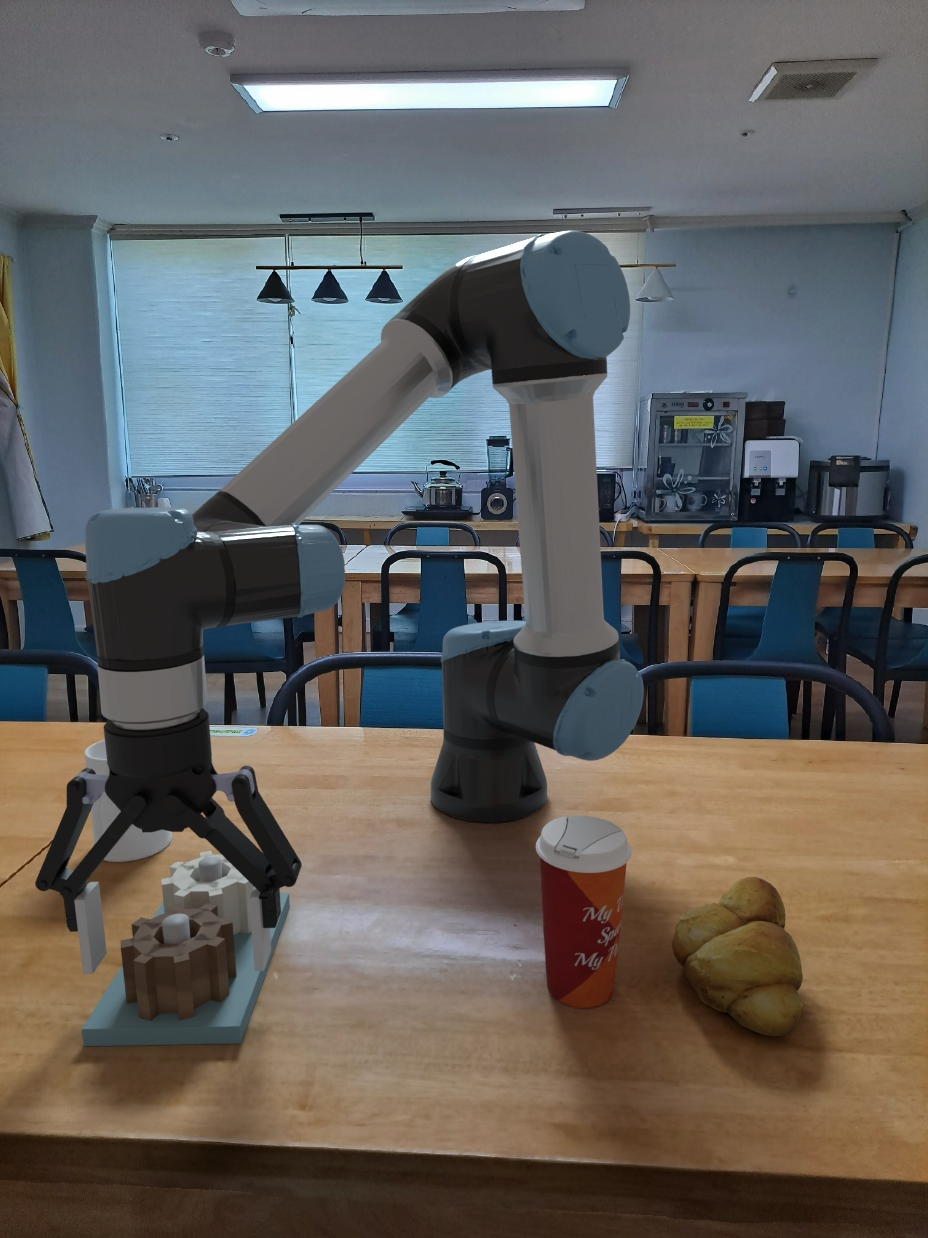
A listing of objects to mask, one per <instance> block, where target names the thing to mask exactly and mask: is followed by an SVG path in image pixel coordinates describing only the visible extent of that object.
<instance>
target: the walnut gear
mask: <svg viewBox="0 0 928 1238" xmlns="http://www.w3.org/2000/svg"><path fill="white" fill-rule="evenodd" d="M174 914H185V915H187V916H188V918H189V929H190V939H189V940H187V941H184V942H182V943H180V944H164V937H163V926H162V922H163V920H164V919H165V918H167V917H168V916H170V915H174ZM153 917H154V916H153ZM153 917H151V918H146V917H141V916H140V918H138V919H136V921H134V922H133V923H131V931H132V933H131V934H132V937H130V938H127V939H122V940H120V954H121V965H123V974H124V983H125V993H126V1002H127V1004H131V1003H135V1002H138V1011H139V1018H141V1019H144V1020H148V1021H151V1020H153V1019H154V1018H155V1017H156V1016H157V1015H158V1014H179V1020H180V1021H181V1020H185V1019H188V1018H192V1017H194V1009H196V1008H197V1007H199V1006H201V1005H203V1004H205V1003H207V1002H209V1001H211V1000H213V1001H216V1002H220V1003H221V1002H222V1001H223V1000H224V999H225V998H226V997H227V996H228V995H229V982H228V979H229V978H233V977H237V974H236V961H235V948H234V934H233V922H232V918H231V916H227V917H223V918H219V917H218V910H217V905H213V904H209V903H206V904H205V905H204V906H202V907H201V908H200V909H181V903H180V904H176V905H171V906H167V912H166V913H164V914H161V915H159V916H157V917H154V918H153Z"/></svg>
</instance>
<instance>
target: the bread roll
mask: <svg viewBox="0 0 928 1238" xmlns="http://www.w3.org/2000/svg"><path fill="white" fill-rule="evenodd" d="M785 927H786V908H785V905H784V902H783V899H782V896H781V895H780V893H779V891H778V890H777V888H775V886H773V885H772V884H771V883H770V882H769V881H767V880H765V879H763V878H760V877H757V876H748V877H745V878H740V879H739V880H737V881H736V882H735V883H733V884H732V885H731V887H730V889H728V891H727V892H726V893H724V894H723V895H722V896H721V897H720V900H719V902H718V904H717V903H715V902H714V903H705V904H704V905H701V906H697V907H694V908H691V909H690V910H688V911H686V912H685V913H684V914H683V915H682V917H681V918H679V921H678V922H677V923H676V924H675V927H674V928H675V930H674V933H673V938H672V942H671V948H672V950H673V951H672V952H673V957H674V958H675V959H676V962H677V963H679V964H680V966H681V967H683V969H684V973H685V976H686V978H687V980H688V982H689V983H690V986H691V987H692V988H693V990H694V991H695V992H696V995H697V997H698V998H699V999H700V1000H701V1002H702V1003H703V1004H706V1005H707V1006H709V1007H710V1008H713V1009H715V1010H717V1011H718V1012H722V1013H727V1014H729V1015H730V1017H732V1019H734V1020H735V1021H736V1022H737V1023H738V1024H739V1025H740V1026H741V1027H742V1028H743V1027H744V1028H745V1029H748V1030H750V1031H752V1032H755V1033H757V1034H759V1035H760V1034H761V1035H764V1036H769V1037H780V1036H785V1035H786V1034H789V1033H790V1032H791V1031H792V1030H793V1029H794V1028H795V1027H796V1025H797V1024H798V1023H799V1021H800V1017H801V1015H802V1012H803V1004H802V1000H801V996H800V993H798V990H799V989H801V986H802V983H803V977H804V974H803V972H802V969H803V968H802V967H803V966H802V963H801V956H800V953H799V950H798V946H797V944H796V941H795V940H794V939H793V937H792V935H791V934H790V933H789V932H787V931H786V929H785Z"/></svg>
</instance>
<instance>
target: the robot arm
mask: <svg viewBox="0 0 928 1238" xmlns="http://www.w3.org/2000/svg"><path fill="white" fill-rule="evenodd" d="M628 287H629V286H628V284H627V281H626V277H625V274H624V271H623V269H622V268H621V266H620V263H619V262H618V260H617V258H616V257H615V255H612V254H611V253H610V250H609V248H608V247H607V246H606V244H604V243H603V242H602V241H601V240H600V239H599V238H598V237H596V236H594V235H592V234H590V233H587V232H586V231H585V232H584V231H581V230H565V231H558V232H553V233H552V232H550V233H546V234H538V235H535V236H534V237H531V238H529V239H525V240H521V241H518V242H516V243H513V244H510V245H507V246H503V247H500V248H497V249H493V250H489V251H486V252H482V253H477V254H474V255H471V256H468V257H465V258H464V259H462V260H460V261H459V262H456V263H455V264H453V265H452V266H451V267H449V268H447V269H446V270H445V271H443V272H442V273H441V274H440V275H439V276H437V277H436V278H435V279H434V280H433V281H432V282H430V283H429V284H428V285H427V286H426V287H425V288H423V290H421V291H420V292H419V293H418V294H417V295H416V296H415V297H414V298H413V299H412V300H410V301H409V302H408V303H407V304H406V305H404V307H403V308H401V310H400V311H398V312H397V313H396V314H395V315H394V316H393V317H392V318H391V319H390V320H389V321H388V322H386V323H385V325H384V326H383V327H382V329H381V332H380V342H379V343H378V344H377V345H376V346H375V347H374V348H373V349H372V350H371V351H370V352H369V353H368V354H367V355H365V357H363V358H362V359H361V360H360V361H359V362H358V363H357V364H356V365H355V366H353V367H352V368H351V369H350V370H349V371H348V372H347V373H346V374H345V375H344V376H342V377H341V378H340V379H339V380H338V381H337V382H335V384H334V385H333V386H331V387H330V389H328V390H327V391H326V392H325V393H324V394H323V395H322V396H321V397H319V399H317V400H316V401H315V402H314V403H313V404H312V405H311V406H310V407H309V408H307V410H305V411H304V412H303V413H302V414H301V415H300V416H299V417H298V418H297V419H296V420H295V421H294V422H293V423H291V424H290V425H289V426H288V427H287V428H286V429H284V431H283V432H281V434H279V435H278V436H277V437H276V438H275V439H274V440H273V441H272V442H271V443H269V445H267V446H266V447H265V448H264V449H263V450H262V451H261V452H260V453H258V454H257V455H256V456H255V457H254V459H252V460H251V461H250V462H249V463H248V464H247V465H245V467H244V468H243V469H241V470H240V471H239V472H238V473H236V475H235V476H233V478H232V479H230V480H229V481H228V482H227V483H226V484H225V485H224V486H223V487H222V488H220V489H219V491H217V492H216V493H215V494H214V495H212V496H211V497H210V498H208V499H207V500H206V501H205V502H204V503H203V504H202V505H201V506H200V507H199V508H198V509H197V510H196V511H194V512H193V513H191V512H190V511H189V510H187V509H186V508H183V507H172V506H171V507H168V506H167V507H166V506H165V507H164V506H163V507H162V506H161V507H158V506H156V507H125V508H113V509H105V510H101V511H97V512H96V513H94V514H92V515H91V516H90V517H89V518H88V519H87V522H86V524H85V528H84V529H85V530H84V531H85V532H84V533H85V534H84V537H85V538H84V539H85V541H84V542H85V544H84V545H85V562H86V563H85V565H86V567H85V568H86V571H85V576H84V577H85V581H87V587H88V594H89V601H90V602H89V603H90V608H91V609H90V610H91V618H92V624H93V625H92V626H93V631H94V638H95V639H94V641H95V646H96V647H95V648H96V660H97V674H98V675H97V676H98V685H99V686H98V687H99V697H100V699H99V700H100V701H99V702H100V709H101V715H102V716H103V717H104V718H105V719H107V721H106V722H105V723H104V724H103V735H104V740H105V746H106V756H107V764H108V767H109V771H110V772H109V776H107V775H96V773H95V771H94V770H93V769H91V768H86V767H85V768H83V769H81V771H80V772H79V773H77V774H76V775H75V776H74V777H72V778H71V780H69V781H68V782H67V784H66V807H65V810H64V813H63V815H62V817H61V818H60V819H61V820H60V822H59V824H58V827H57V829H56V832H55V834H54V837H53V839H52V841H51V844H50V846H49V848H48V850H47V853H46V856H45V858H44V861H43V863H42V865H41V867H40V869H39V873H38V875H37V877H36V879H35V883H34V884H35V887H36V889H37V890H38V891H40V892H47V891H49V890H52V891H55V892H58V893H59V894H60V896H61V897H62V898H63V903H64V913H65V919H66V921H65V923H66V927H67V928H68V929H67V930H68V931H69V932H70V933H71V932H72V933H74V932H77V933H78V942H79V951H80V958H81V967H82V974H83V975H93V974H94V973H95V971H96V970H97V969H98V967H99V965H101V963H102V961H103V960H104V958H105V957H106V955H107V953H108V952H107V951H108V950H107V943H106V934H105V927H104V926H105V924H104V917H103V916H104V915H103V908H102V899H101V897H102V896H101V889H100V882H99V881H89V882H88V883H87V881H88V879H90V877H91V876H92V874H94V872H95V871H96V870H97V868H98V867H99V866H100V865H101V863H102V862H103V861H104V858H105V857H106V856H107V855H108V853H109V852H110V851H111V850H112V848H113V847H114V846H115V845H116V843H117V842H118V841H119V840H120V838H121V837H122V836H123V835H124V834H125V832H126V831H127V830H128V829H129V827H130V826H131V825H132V824H133V825H134V826H135V827H137V828H139V829H142V832H155V831H159V830H166V831H170V832H171V833H181V832H184V830H185V829H188V828H189V830H191V831H192V833H194V834H195V835H196V836H197V837H198V838H199V839H204V840H206V841H207V842H208V843H209V844H211V846H212V847H213V848H215V850H216V851H217V852H218V853H219V855H223V856H224V857H225V858H226V859H227V860H228V861H229V862H230V863H231V864H232V865H233V866H234V867H235V868H236V869H237V870H238V871H239V872H240V873H241V874H242V875H243V876H244V877H245V878H246V879H247V880H248V881H249V882H250V883H251V884H252V885H253V886H254V888H253V890H252V892H251V895H250V897H249V900H250V915H251V929H252V943H253V958H254V971H264V969H265V967H266V964H267V961H268V958H269V955H270V953H271V939H270V928H275V927H276V925H277V922H278V919H279V917H280V914H281V903H280V893H281V891H280V889H281V888H283V887H286V888H291V887H294V886H295V885H296V883H297V880H298V878H299V875H300V872H301V869H302V863H303V862H302V860H301V859H300V857H299V856H298V855H297V852H296V851H295V850H294V848H293V846H292V844H291V843H290V841H289V840H288V838H287V836H286V834H285V833H284V831H283V830H282V828H281V826H280V824H279V823H278V822H277V819H276V817H274V815H273V813H272V811H271V810H270V809H269V807H268V805H267V803H266V802H265V800H264V798H263V797H262V795H261V794H260V791H259V789H258V783H257V778H256V773H255V769H254V768H253V767H252V766H250V765H244V766H242V767H240V769H239V770H238V771H234V772H225V773H224V772H223V773H218V772H217V770H216V769H215V766H214V764H213V758H212V757H213V756H212V755H213V753H212V741H211V730H210V729H211V727H210V716H209V712H208V711H207V710H205V708H204V707H205V705H206V704H208V698H207V697H208V696H207V695H208V694H207V693H208V692H207V678H206V666H205V646H204V638H203V637H204V636H203V635H204V630H208V629H217V628H223V627H229V626H236V625H243V624H244V625H245V624H250V623H258V622H259V623H260V622H264V621H265V622H267V621H273V620H280V619H288V618H295V617H297V618H298V619H299V618H300V619H301V618H303V617H304V616H307V615H311V614H316V613H319V612H323V611H327V610H330V609H332V608H333V607H334V606H335V605H336V604H337V603H338V602H339V600H340V598H341V596H342V594H343V591H344V587H345V584H346V575H345V574H346V573H345V572H346V571H345V570H346V569H345V566H346V565H345V564H346V563H345V557H344V552H343V550H342V548H341V545H340V544H339V541H338V539H337V538H336V536H335V534H333V532H332V531H330V529H328V528H327V527H325V526H323V525H321V524H302V522H303V521H304V520H306V518H308V517H309V516H310V514H311V513H312V512H314V510H316V509H317V508H318V507H319V506H320V505H321V504H322V503H323V502H324V501H325V500H326V499H328V497H330V495H331V494H332V493H333V492H334V491H335V490H336V489H337V488H339V486H340V485H341V484H342V483H344V481H345V480H346V479H347V478H348V477H350V475H352V473H353V472H355V471H356V470H357V468H359V467H360V465H361V464H362V463H364V462H365V461H366V460H367V459H368V458H369V457H370V456H371V455H372V454H373V453H374V452H375V451H376V450H377V449H378V448H379V447H380V446H381V445H382V444H383V443H384V442H385V441H386V440H387V439H388V438H389V437H390V436H392V434H393V433H394V432H395V431H396V430H397V429H398V428H400V426H401V425H403V424H404V423H405V422H406V421H407V419H409V418H410V417H411V415H413V414H414V413H415V412H416V411H417V410H418V409H419V408H420V407H421V406H422V405H423V404H424V403H425V402H426V401H427V400H428V399H429V398H432V399H433V398H434V399H437V398H439V399H440V398H443V397H444V396H445V395H446V394H447V395H448V393H449V392H450V391H451V390H452V389H453V388H454V387H455V386H456V385H458V384H459V383H460V382H462V381H463V380H465V379H468V378H469V377H472V376H474V375H477V374H480V373H483V372H485V371H489V370H491V382H492V389H494V391H496V392H497V393H498V394H499V395H500V396H502V397H503V398H504V399H505V400H506V402H507V403H508V407H509V409H508V410H509V420H510V421H509V423H510V434H511V435H510V436H511V447H512V460H513V461H512V462H513V472H514V473H513V474H514V475H513V476H514V487H515V500H516V512H517V525H518V539H519V541H518V542H519V553H520V566H521V579H522V580H521V581H522V592H523V605H524V620H497V621H484V622H477V623H475V622H474V623H471V624H470V623H469V624H464V625H461V626H460V625H459V626H456V627H454V628H451V629H449V630H448V631H447V632H446V634H445V635H444V636H443V639H442V649H441V650H442V652H441V658H440V664H441V682H442V683H441V684H442V687H441V689H442V719H443V720H442V721H443V723H442V724H443V725H442V727H443V741H442V745H441V748H440V752H439V755H438V758H437V761H436V763H435V767H434V769H433V773H432V776H431V779H430V800H431V803H432V804H433V806H434V807H435V808H436V809H438V811H440V812H442V813H443V814H445V815H447V816H450V817H453V818H455V819H460V820H464V821H470V822H482V823H500V822H509V821H515V820H519V819H523V818H526V817H529V816H531V815H533V814H535V813H537V812H539V811H540V810H542V809H543V808H544V807H545V805H546V804H547V800H548V782H547V781H548V780H547V777H546V774H545V771H544V768H543V765H542V761H541V759H540V756H539V755H540V754H539V752H538V748H537V746H536V744H537V745H540V746H543V747H545V748H548V749H550V750H553V751H555V752H557V754H558V755H561V756H564V757H572V758H576V759H579V760H583V761H589V762H590V761H591V762H592V761H599V760H602V759H604V758H607V757H609V756H610V755H612V754H613V753H614V752H616V751H617V750H618V749H620V747H621V746H622V745H623V744H624V743H625V742H626V740H627V739H628V737H629V736H630V734H631V732H632V731H633V730H634V729H635V726H636V724H637V722H638V719H639V717H640V713H641V711H642V707H643V702H644V695H645V694H644V693H645V692H644V689H645V688H644V683H643V682H644V681H643V677H642V675H641V673H640V671H639V670H637V668H636V666H635V665H634V664H632V663H631V662H630V661H628V660H626V659H623V658H622V659H621V658H620V657H621V656H620V637H619V632H618V630H617V629H615V628H614V627H613V626H612V625H610V624H609V622H607V621H606V620H605V616H604V595H603V577H602V555H601V553H602V552H601V535H600V533H601V532H600V513H599V493H598V490H599V489H598V474H597V473H598V471H597V449H596V433H595V432H596V430H595V428H596V427H595V412H594V408H595V407H594V395H595V392H596V391H597V390H598V388H599V387H600V386H601V385H602V383H604V381H605V380H606V379H607V377H608V359H607V358H608V356H610V355H611V354H612V353H613V352H615V350H617V349H618V348H619V347H620V346H621V344H622V342H623V341H624V339H625V337H624V334H625V333H626V332H627V331H628V328H629V325H630V320H631V319H630V317H631V300H630V294H629V288H628ZM217 791H219V792H222V793H224V795H225V796H226V799H227V800H228V801H229V802H231V803H232V802H234V805H235V807H236V811H237V813H238V815H239V816H240V818H241V819H242V821H243V822H244V824H245V826H246V827H247V829H248V831H249V833H250V834H251V835H252V837H253V839H254V840H255V842H256V843H257V845H258V846H256V844H254V842H253V841H252V840H250V838H248V836H247V835H246V834H245V833H244V832H242V831H241V829H239V828H238V826H237V825H236V824H234V822H232V820H230V818H228V816H226V813H225V810H224V808H223V807H222V806H221V805H220V804H219V803H218V802H217V801H216V800H215V799H214V798H213V797H214V795H215V794H216V793H217ZM103 792H106V795H107V796H108V797H109V799H110V800H111V801H112V802H113V803H114V804H115V805H116V806H117V807H118V809H119V810H120V811H121V812H120V813H119V814H118V816H117V817H116V818H115V819H114V821H113V822H112V823H111V824H110V826H109V827H108V828H107V829H106V831H105V832H104V834H103V835H102V836H101V837H100V839H99V840H98V841H97V842H96V844H95V845H94V846H93V845H92V847H91V849H89V851H88V852H87V853H86V855H85V856H84V857H83V859H82V860H81V861H80V862H79V864H78V865H77V866H76V867H75V869H71V868H70V869H69V868H67V867H68V864H69V863H70V860H71V859H72V856H73V853H74V850H75V848H76V846H77V843H78V842H79V839H80V837H81V834H82V832H83V830H84V827H85V825H86V823H87V820H88V817H89V815H90V814H91V809H92V806H93V804H94V803H95V802H96V801H97V800H98V799H99V798H100V797H101V795H102V793H103ZM258 847H259V848H258Z"/></svg>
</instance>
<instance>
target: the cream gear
mask: <svg viewBox="0 0 928 1238" xmlns="http://www.w3.org/2000/svg"><path fill="white" fill-rule="evenodd" d="M208 857H218V858H220V859H221V866H222V878H221V879H218V880H216V881H213V882H200V878H199V866H198V863H199V862H200V861H201V860H202V859H204V858H208ZM169 876H170V877H165V878H161V879H160V882H161V890H162V902H163V904H164V913H166V912H167V906H171V905H176V904H180V903H181V909H200V908H201V907H202V906H204V905H205V904H206V903H209V904H213V905H217V910H218V917H219V918H223V917H227V916H231V918H232V922H233V934H234V935H235V934H237V933H239V932H243V933H247V934H249V933H250V932H251V931H252V929H251V915H250V900H249V897H250V895H251V892H252V890H253V888H254V886H253V885H252V884H251V883H250V882H249V881H248V880H247V879H246V878H245V877H244V876H243V875H242V874H241V873H240V872H239V871H238V870H237V869H236V868H235V867H234V866H233V865H232V864H231V863H230V862H229V861H228V860H227V859H226V858H225V857H224V856H223V855H222V854H213V851H212V850H207V851H202V852H199V857H198V858H194V859H192V860H189V861H186V862H184V861H183V862H182V861H178V860H177V861H176V862H174V863H173V864H172V865H170V866H169Z"/></svg>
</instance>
